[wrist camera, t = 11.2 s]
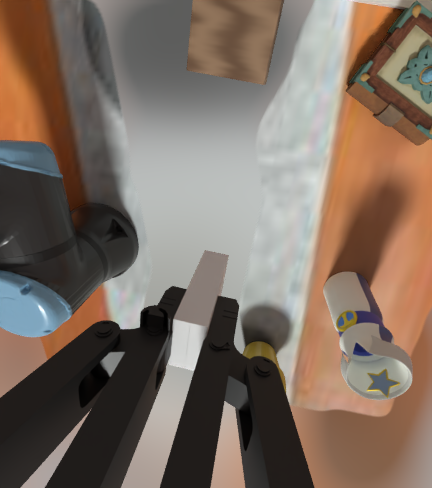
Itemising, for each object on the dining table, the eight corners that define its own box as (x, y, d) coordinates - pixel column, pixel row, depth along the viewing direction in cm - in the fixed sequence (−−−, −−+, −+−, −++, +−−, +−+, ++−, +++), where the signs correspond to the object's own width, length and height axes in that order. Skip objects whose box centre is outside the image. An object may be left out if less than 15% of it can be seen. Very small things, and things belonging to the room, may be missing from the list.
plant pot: (256, 325, 60) (253, 362, 51) (294, 352, 61) (298, 393, 53) (226, 351, 65) (218, 390, 56) (262, 377, 66) (261, 418, 57)
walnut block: (211, -52, 36) (197, 71, 42) (199, -73, 31) (186, 70, 37) (292, -39, 35) (265, 83, 42) (294, -59, 30) (263, 84, 36)
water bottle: (309, 290, 54) (334, 419, 32) (346, 261, 51) (403, 383, 28) (341, 316, 55) (387, 457, 33) (380, 289, 52) (459, 428, 30)
